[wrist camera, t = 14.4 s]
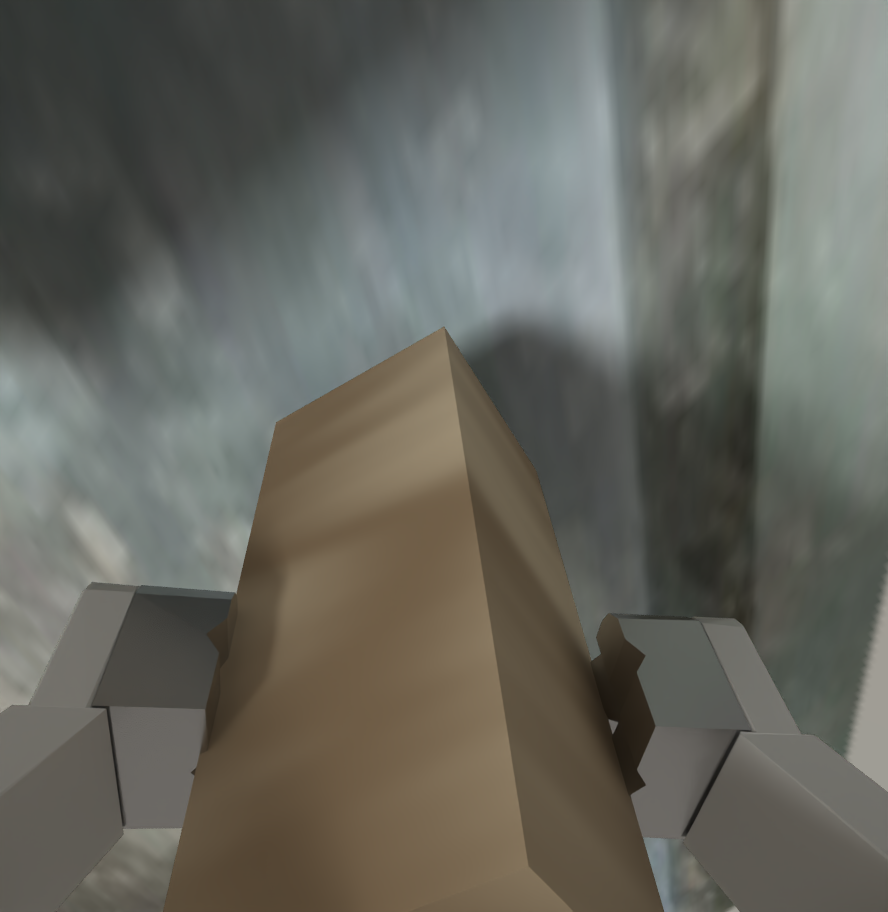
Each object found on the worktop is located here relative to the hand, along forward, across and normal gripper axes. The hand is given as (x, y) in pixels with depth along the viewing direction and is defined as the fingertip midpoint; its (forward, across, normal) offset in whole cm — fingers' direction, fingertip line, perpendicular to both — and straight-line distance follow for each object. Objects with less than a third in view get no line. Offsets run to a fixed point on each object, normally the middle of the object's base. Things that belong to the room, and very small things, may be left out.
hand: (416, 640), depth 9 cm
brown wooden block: (+4, 0, 0) cm, 4 cm away
